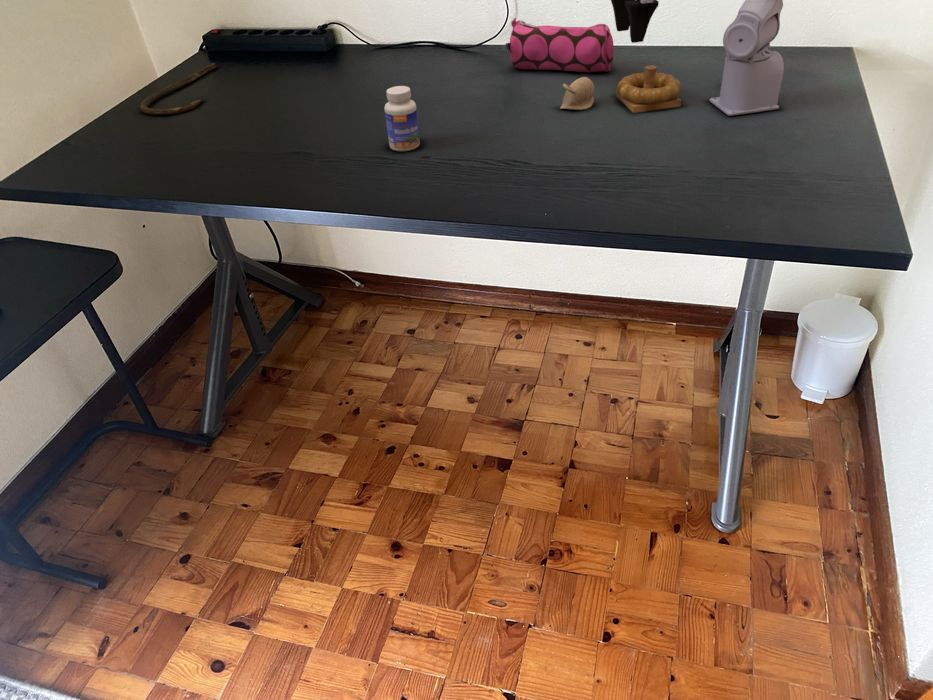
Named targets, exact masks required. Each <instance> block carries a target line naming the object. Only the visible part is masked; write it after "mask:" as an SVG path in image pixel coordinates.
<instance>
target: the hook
mask: <svg viewBox="0 0 933 700" xmlns="http://www.w3.org/2000/svg"><path fill="white" fill-rule="evenodd" d="M216 68H217V65H216V63H215V62H211V63H209V64H207V66H206V67H203V68H201V69H200V70H198V71H196V72H193V73H192V74H190V75H188V76H187V77H184V78H183V79H180V80H178V81H176V82H174V83H173V84H170V85H168V86H165V87H163V88H161V89H160V90H158V91H156V92H154V93H152V94H151V95H148V96H147V97H146V98H145V99H144V100H142V101H141V102H140V105H139V109H140V111H141V112H142V113H145V114H147V115H152V116H171V115H178V114H183V113H186V112H189V111H191V110H193V109H195V108H196V107H198V106H199V105H200V104H201V103H202V101H203V100H204V99H203V98H201V99H197V100H194V101H192V102H189V103H188V104H186V105H182V106H179V107H173V108H172V107H171V108H170V107H169V108H152V107H151V108H150V106H151V105H152V104H153V103H155V102H156V101H158V100H160V99H161V98H163V97H165V96H168V95H169V94H171V93H174V92H175V91H177V90H180V89H181V88H183V87H186V86H187V85H189V84H191V83H193V82H194V81H196V80H197V79H199V78H201V77H203V76H204V75H206V74H207V73H209V72H211V71H213V70H215V69H216Z"/></svg>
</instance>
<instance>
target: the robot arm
mask: <svg viewBox="0 0 933 700" xmlns="http://www.w3.org/2000/svg"><path fill="white" fill-rule="evenodd" d="M610 2H611V5H612V9H613V14H614V22H615V28H616V32H627V31H629V37H630V42H631V43H632V44H635V43H642V42H644V40H645V37H646V34H647V30H648V27H649V24H650V22H651V20H652V17H653V15H654V14H655V11H656V10H657V9H658V7H659V4H660V2H659V0H610ZM783 7H784V1H783V0H744V2H743V3H742V4H741V6H740V7H739V9H738V12H737V15H736V17H735V19H734V20H733V21H732V22H731V23H730V24H729V25H728V26H727V27H726V29H725V31H724V33H723V36H722V45H723V48H724V51H725V57H724V64H723V71H722V78H721V84H720V93H719V96H716V97H710V98H709V102H710V103H711V104H713V105H714V106H715V108H717V109H719V110H720V111H721V112H722V113H724V114H726V116H728V117H731V116H740V115H746V114H754V113H760V112H761V113H762V112H769V111H775V110H779V109H780V106H779V105H778V103H779V97H780V91H781V87H782V83H783V78H784V71H785V70H784V69H785V64H784V63H785V62H784V59H783V57H782V55H781V54H780V52H778V51H775V50H773V51H772V49H771V43H772V42H773V41H774V40H775V39H776V38H777V36H778V34H779V32H780V28H781V21H780V17H781V12H782V10H783Z"/></svg>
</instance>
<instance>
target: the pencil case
mask: <svg viewBox="0 0 933 700" xmlns="http://www.w3.org/2000/svg"><path fill="white" fill-rule="evenodd" d="M510 22H511V23H510V25H511V27H512V30H511V33H510V38H509V42H506V43H505V49H506V51H507V53H509V60H510V63H511V65H512V66H513V67H514V68H516V69H520V70H535V71H536V70H537V71H538V70H539V71H550V70H554V71H564V72H578V73H595V72H596V73H597V72H610V71H611V68H612V63H613V60H614V54H615V53H614V52H615V50H614V49H615V48H614V47H615V46H614V39H613V38H614V37H613V35H612V33H611V29H610V28H609V25H607V24H605V23H597V24H594V25H592V26H587V27H586V26H559V25H534V24H532V23H527V22H525V21H524V20H519V19H518V20H517V17H514V18H513V19H512V20H511V21H510Z"/></svg>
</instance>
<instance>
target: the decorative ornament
mask: <svg viewBox="0 0 933 700" xmlns="http://www.w3.org/2000/svg"><path fill="white" fill-rule="evenodd" d="M562 87H563V88H564V89H565V90H566V91H565V92H564V96H563V99H562V104H561V105H560V107H559V110H562V109H563V110H564V109H565V110H573V111H583V110H588V109H589V108H592V106H593V104H594V103H595V101H594V100H595V98H594V94H595V86H594V83H593V81H592V79H590V78H589V77H587V76H581V77H579V78H577V79H575V80H574V81H573V82H571V83H570V85H569V84H567V83H563V84H562Z"/></svg>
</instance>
